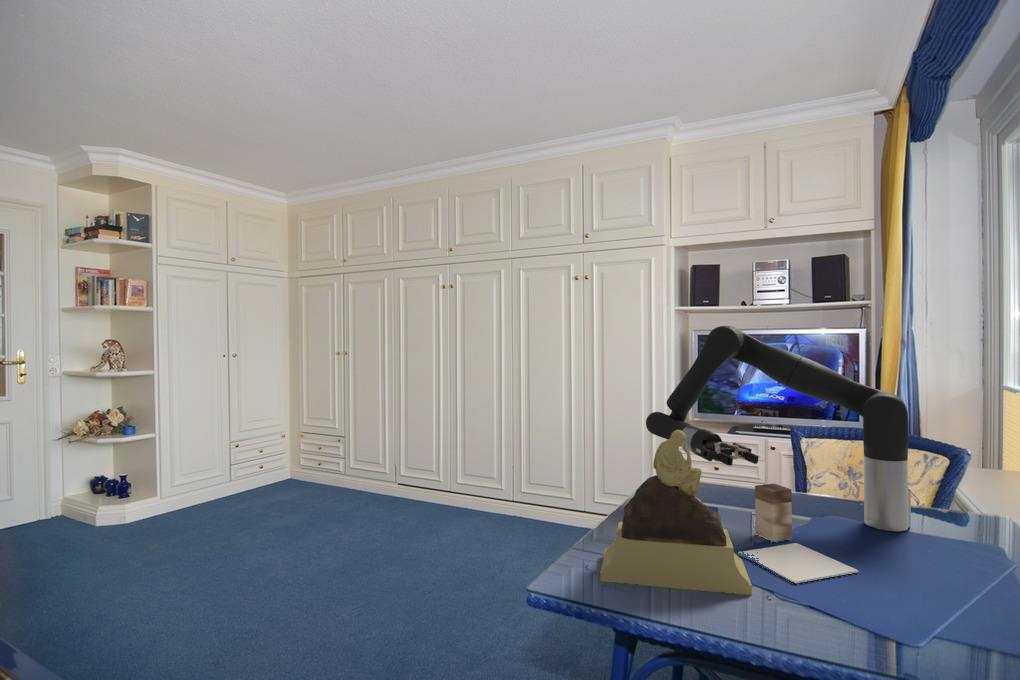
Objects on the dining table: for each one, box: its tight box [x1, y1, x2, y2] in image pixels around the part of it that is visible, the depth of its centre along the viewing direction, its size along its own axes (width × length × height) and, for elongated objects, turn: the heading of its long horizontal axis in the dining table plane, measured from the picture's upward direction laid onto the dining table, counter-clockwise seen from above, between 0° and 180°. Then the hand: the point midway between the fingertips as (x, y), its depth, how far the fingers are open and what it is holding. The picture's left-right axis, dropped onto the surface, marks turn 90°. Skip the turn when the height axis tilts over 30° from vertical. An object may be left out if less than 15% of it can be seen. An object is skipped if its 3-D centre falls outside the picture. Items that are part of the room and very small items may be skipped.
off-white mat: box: [738, 542, 859, 583], centre depth 120 cm, size 16×16×1 cm
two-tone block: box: [754, 483, 793, 541], centre depth 136 cm, size 6×6×12 cm
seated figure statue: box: [599, 430, 753, 596], centre depth 116 cm, size 28×13×30 cm, turn 76°
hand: (744, 461), depth 144 cm, fingers open, 8 cm apart
